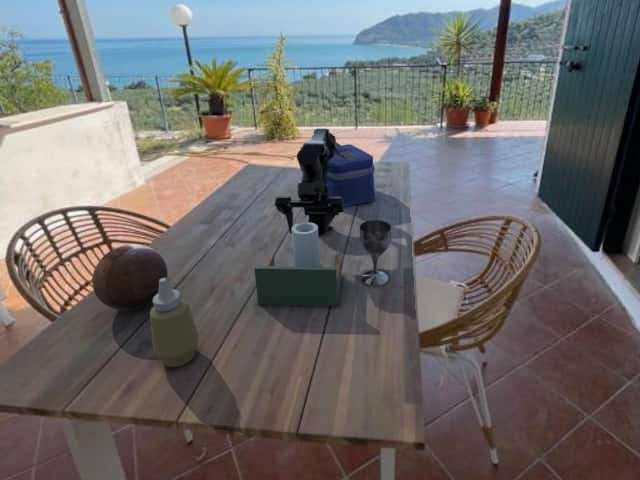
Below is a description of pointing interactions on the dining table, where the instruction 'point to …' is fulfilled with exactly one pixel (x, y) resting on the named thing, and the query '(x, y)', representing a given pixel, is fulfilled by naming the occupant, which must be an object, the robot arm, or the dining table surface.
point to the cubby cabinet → (297, 284)
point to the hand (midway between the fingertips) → (307, 233)
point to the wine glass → (375, 248)
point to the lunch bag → (351, 175)
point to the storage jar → (305, 245)
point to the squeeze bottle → (172, 327)
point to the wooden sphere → (129, 277)
